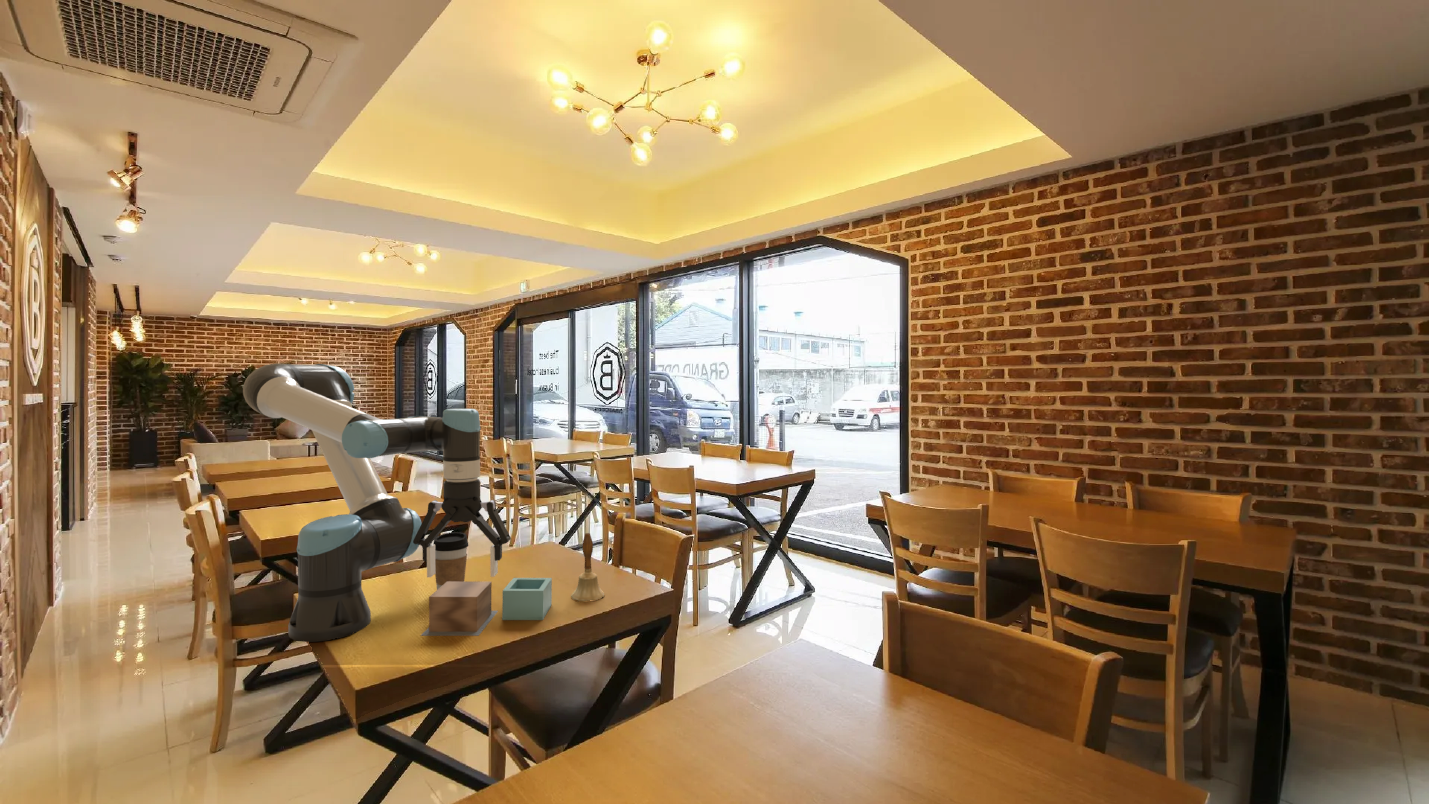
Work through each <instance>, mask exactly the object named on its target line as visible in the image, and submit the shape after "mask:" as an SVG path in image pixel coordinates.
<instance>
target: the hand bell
mask: <svg viewBox="0 0 1429 804" xmlns="http://www.w3.org/2000/svg"><path fill="white" fill-rule="evenodd" d="M593 548H594V542H593V539H592V536H591V533H590V532H586V533H584V537H583V541H582V553H583V557H584V572H582V573H580V574H579V575H578V581H577V582H578V583H577V586H576V589H575V590H574V591H573V592H572V593H571V596H570V598H571V597H572V598H571V599H572V600H573V601H575V600H578V601H577V602H579V601H590V600H597V599H600V598H602V597H603V598H604V597H605V596H604V594H605V592H604V591H603V590H602V589H601V587H600V585H599V580H598V574H596V572H593V571H592V555H593V550H594V549H593ZM603 598H602V599H603ZM600 600H601V599H600ZM597 601H598V600H597Z"/></svg>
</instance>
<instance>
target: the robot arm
mask: <svg viewBox="0 0 1429 804" xmlns="http://www.w3.org/2000/svg"><path fill="white" fill-rule="evenodd" d="M354 391H355V385H354V382H353V379H352V378H351V376H350V375H349V374H348V372H347V371H345V370H344V369H342V368H341V367H339V366H335V365H328V364H323V363H316V364H301V363H300V364H299V363H270V364H266V365H263V366H259V367H257V368H256V369H254V370H253V371H251V373H250V374H249V375H247V378H246V379H245V381H244V383H243V385H242V395H243V398H244V400H245V402H246V403H247V404H248V406H249V407H250V408H252V409H253V410H254V411H256V412H257V413H259V414H261V415H263V416H266V417H269V418H272V419H281V418H282V419H285V420H287V421H290V422H293V424H294V423H295V424H297V425H300V426H302V427H304V428H306V429H309V430H311V432H312V434H313V436H314V438H315V441H316V443H317V444H318V446H319V448H320V450H321V453H322V454H323V456H324V459H325V461H326V463H327V466H328V468H329V469H330V472H331V474H332V476H333V478H334V481H335V482H336V484H337V486H338V489H339V490H340V493H341V495H342V497H343V499H344V501H345V504H346V506H347V508H348V510H349V513H347V514H337V515H333V516H332V515H331V516H329V515H328V516H325V517H322V518H318V519H316V520H312V521H310V522H308V523H307V524H305V525H304V526H303V527H302V528H301V529H300V530H299V532H298V537H297V546H296V552H297V588H298V589H297V590H298V591H297V593H298V596H297V599H296V602H295V605H294V608H293V611H292V613H291V616H290V618H289V619H290V620H289V623H288V629H287V630H288V631H287V632H288V634H287V635H288V637H289V638H290V639H291V640H293V641H298V642H303V643H305V642H307V643H310V642H311V643H312V642H313V643H315V642H326V641H331V640H330V639H333V640H336V639H335V638H337V639H341V638H345V637H348V635H349V636H352V635H354V634H357V632H360V631H362V630H363V629H365V628H366V627H367V626H368V625H369V624H370V623H371V619H372V618H371V617H372V615H371V614H372V613H371V609H370V606H369V604H368V601H367V598H366V596H365V594H364V592H363V591H364V590H363V589H362V572H365V571H368V570H371V569H374V568H377V567H380V566H384V565H387V564H391V563H396V562H399V561H401V560H402V559H405V558H407V557H408V558H409V557H410V556H412V555H413V554H414V553H415V552H416V551H417V550H418V548H419V546H421V549H422V560H423V562H426V578H432V577H433V576H434V575H435V574H436V573H435V544H433V543H434V539H435V538H436V537H438V536H440V534H441V532H442V531H443V530H444V529H445V528H446V527H447V525H448V524H450V522H453V523H460V522H463V523H469V522H472V524H474V525H476V526H477V528H478V529H479V530H480V531H481V532H482V533H483V534H484V536H485V537H486V538H487V539H488V540H489V541H490V543H492V545H491V546H490V547H489V549H490V555H489V557H490V577H491V578H494V577H496V576H497V575H498V573H499V571H498V569H499V568H498V567H499V565H498V563H499V561H500V560H501V559H502V557H503V545H505V544H507V543H509V542H510V541H511V539H512V538H511V535H510V533H509V532H508V529H507V527H506V526H505V524H504V521H503V520H502V518H501V515H500V514H499V512H498V509H497V505H496V500H495V499H491V500H489V501H482V500H481V480H480V479H479V478H480V477H481V452H480V451H481V450H480V449H481V445H480V444H481V429H482V428H481V423H480V422H481V421H480V413H479V411H478V410H477V409H475V408H447V409H445V410H443V411H442V417H441V416H440V417H436V416H425V415H414V416H408V417H404V418H403V417H402V418H388V419H387V418H385V419H384V418H383V419H382V418H379V417H376V416H374V415H371V414H368V413H367V412H363V411H362V410H358V409H356V408H353V405H352V404H353V402H354V399H355V396H356V395H355V393H354ZM425 451H431V452H433V451H434V452H437V451H439V452H442V461H443V463H442V464H443V465H442V467H443V468H442V469H443V471H442V472H443V473H442V474H443V475H442V477H443V479H444V481H443V495H442V496H443V501H438V500H436V499H434V500H432V501H430V502H429V503H428V504H427V512H426V514H425V516H424V518H423V520H421V517H420V516H419V514H418V512H417V511H415V510H413V509H412V508H408V507H403V506H402V505H401V503H400V501H399V498H398V497H395V496H392V495H389V494H388V492H387V490H386V487H385V486H384V484H383V481H382V480H381V478H380V475H379V474H378V472H377V470H376V467H375V466H374V463H373V461H372V460H371V459H374V458H378V457H384V456H391V455H392V456H393V455H398V454H399V455H400V454H406V453H407V454H408V453H416V452H425ZM441 509H442V510H443V512H444V513H445V515H444V516H443V517H442V518H441V519H440V522H438V524H437V525H436V526H435V527H434V528H433V530H432V531H431V532H430V533H429V534H428V535H427V533H428V531H429V528H430V527H431V525H432V523H433V521H434V519H435V517H436V516H437V512H439V511H440V510H441ZM482 509H484V511H485V512H486V513H487V515H488V517H489V519H490V521H491V523H492V525H493V527H494V528H495V530H496V531H495V530H494V529H493V527H492V526H491V525H490V524H489V523H488V522H487V521H486V520H485V518H484V516H483V515H482V513H480V511H481V510H482ZM426 535H427V536H426Z"/></svg>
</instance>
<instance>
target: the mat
mask: <svg viewBox="0 0 1429 804" xmlns="http://www.w3.org/2000/svg"><path fill="white" fill-rule="evenodd" d="M498 612H499V610H491V615H490V616H489V617H488V619H487V620H486V621H485V622H484V624H483V625H482V626H481V627H480V628H479V630H478V631H477V632H429V627H428V628H427V629H426V630H424V631H423V632H422V633H421V634H420V635H419V636H423V637H426V636H427V637H429V636H430V637H432V636H433V637H435V636H436V637H437V636H438V637H439V636H440V637H442V636H444V637H447V636H448V637H450V636H452V637H454V636H455V637H457V636H459V637H460V636H465V637H471V636H472V637H474V636H478V637H479V636H480V635H481V633H482V632H483V631H484V630H485V629H486V627H487V626H488V625H489V623H490V622H491V621H492V619H494V617H495V616H496V615H497V613H498Z"/></svg>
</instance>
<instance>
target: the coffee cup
mask: <svg viewBox="0 0 1429 804" xmlns="http://www.w3.org/2000/svg"><path fill="white" fill-rule="evenodd" d="M467 537H468V535H467V534H466V533H465V532H460V531H457V532H454V531H453V532H447V533H443V534H439V535H438V536H437V537H436V538H435V539H434V540H433V542H432V544H435V573H436V574H434V575H435V584H436V591H437V590H438V589H439V588H440V587H441V586H442V585H443V584H445V583H446V582H447V581H460V582H465V578H466V569H467V560H468V554H467V549H468V547H469V546H470V545H469V541H468V538H467Z"/></svg>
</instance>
